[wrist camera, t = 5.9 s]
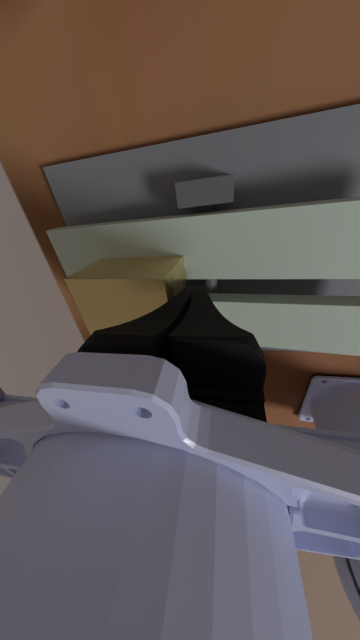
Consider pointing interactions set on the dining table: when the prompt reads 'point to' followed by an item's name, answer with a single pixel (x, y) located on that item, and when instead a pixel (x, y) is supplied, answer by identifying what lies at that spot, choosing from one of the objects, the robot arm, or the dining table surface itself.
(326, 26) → the dining table surface
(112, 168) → the pivot stand
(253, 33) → the dining table surface
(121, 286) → the tan block
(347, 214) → the beam
